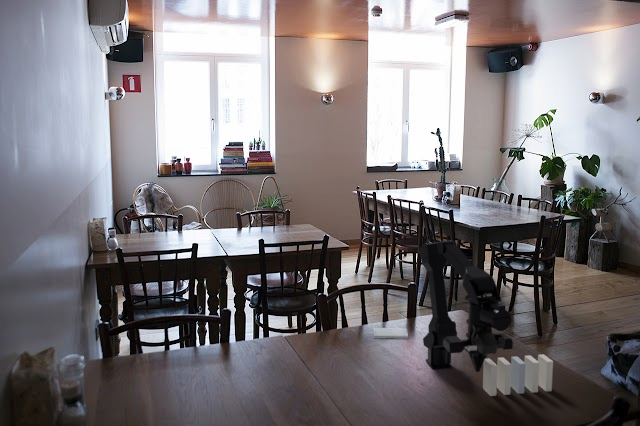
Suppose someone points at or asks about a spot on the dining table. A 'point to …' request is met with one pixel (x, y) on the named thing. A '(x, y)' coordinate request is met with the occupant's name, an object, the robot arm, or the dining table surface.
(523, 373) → the domino
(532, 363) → the domino
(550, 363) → the domino
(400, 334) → the hard drive
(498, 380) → the domino
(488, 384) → the domino
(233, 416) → the dining table surface
